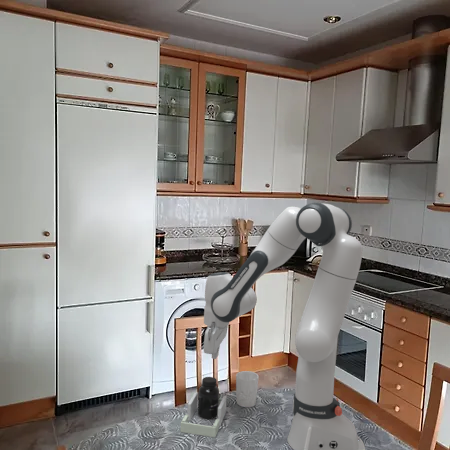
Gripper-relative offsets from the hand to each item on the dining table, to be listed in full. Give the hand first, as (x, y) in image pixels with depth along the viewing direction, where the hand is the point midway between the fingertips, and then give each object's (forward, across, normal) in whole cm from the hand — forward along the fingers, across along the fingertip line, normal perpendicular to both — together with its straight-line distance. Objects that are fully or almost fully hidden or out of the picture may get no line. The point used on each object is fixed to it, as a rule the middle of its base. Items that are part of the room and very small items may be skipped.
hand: (215, 357), depth 151 cm
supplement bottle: (+17, -8, 0) cm, 19 cm away
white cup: (+17, +3, -11) cm, 20 cm away
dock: (+16, -18, 0) cm, 24 cm away
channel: (+16, -9, 0) cm, 19 cm away
